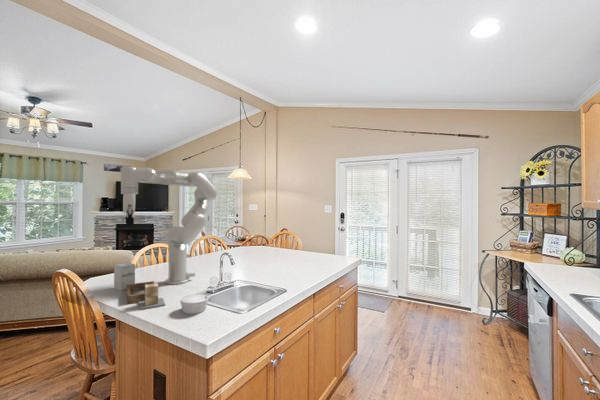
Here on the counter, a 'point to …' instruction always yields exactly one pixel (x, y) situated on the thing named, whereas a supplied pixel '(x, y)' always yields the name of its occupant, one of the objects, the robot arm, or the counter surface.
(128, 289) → the box frame
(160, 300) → the mat
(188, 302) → the ramekin
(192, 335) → the counter surface
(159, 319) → the counter surface
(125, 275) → the supplement box
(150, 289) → the block
